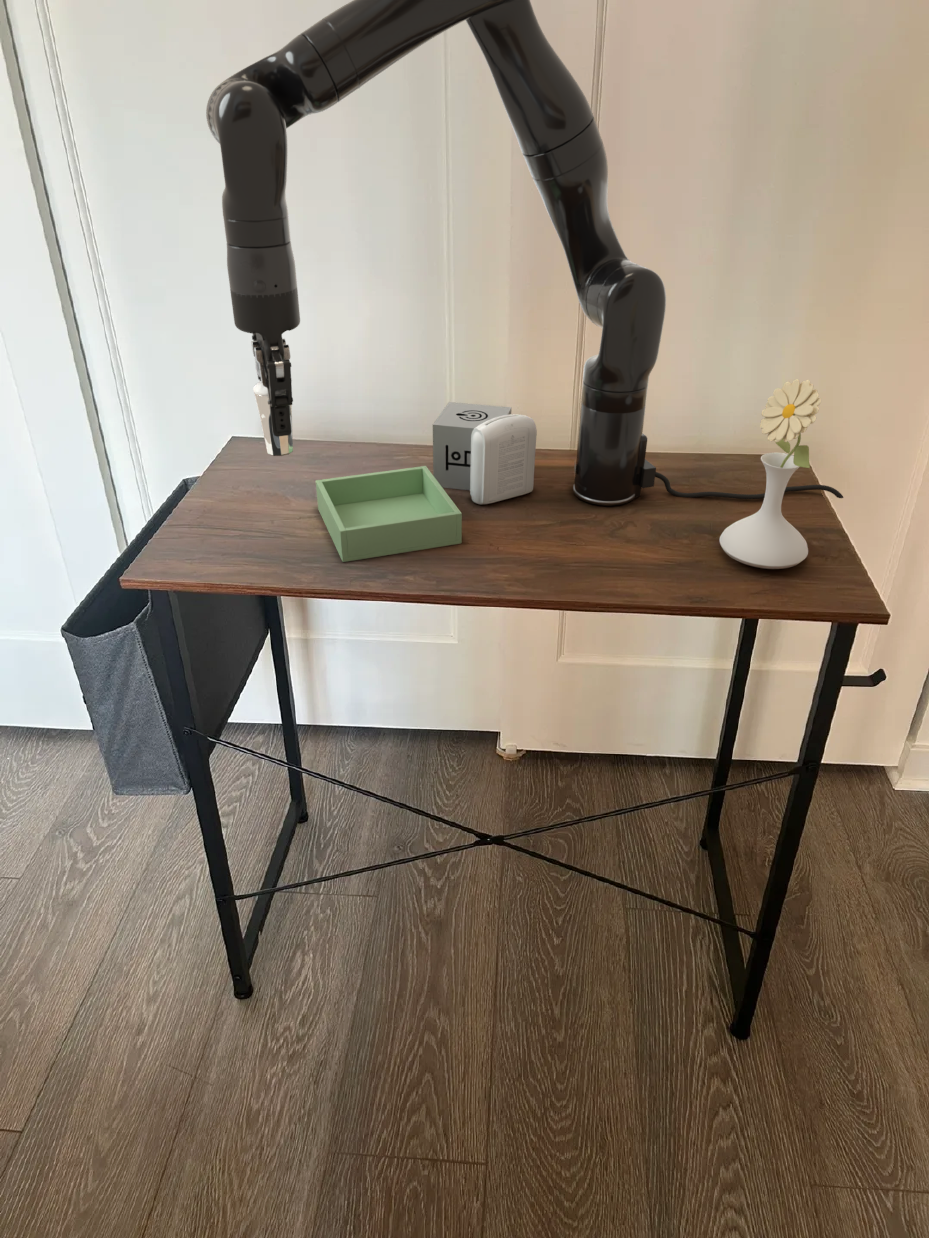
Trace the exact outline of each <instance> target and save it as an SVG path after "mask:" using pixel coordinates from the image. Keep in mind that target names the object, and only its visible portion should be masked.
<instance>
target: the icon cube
mask: <svg viewBox="0 0 929 1238" xmlns="http://www.w3.org/2000/svg"><path fill="white" fill-rule="evenodd" d="M510 414H512V406H502V405H501V406H500V405H491V404H481V403H480V404H478V403H468V402H467V403H466V402H457V401H456V402H454V401H448V402H447V403H446V405H445V407H444V408H443V409H442V410H441V412H440V414H439V415H438V416H437V418H436V419H435V420H434V422H433V423H432V475H433V476H434V477H435V479H436V480H437V481H438V483H439V484H440V485H441V486H442V488H443V489H452V490H461V491H470V470H471V469H470V468H471V435H472V431H473V430H474V428H476V427H477V426H479V425H480V424H482V423H484V422H486V421H488V420H490V419H493V418H496V417H499V416H503V415H510Z"/></svg>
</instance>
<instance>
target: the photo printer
mask: <svg viewBox="0 0 929 1238" xmlns="http://www.w3.org/2000/svg"><path fill="white" fill-rule="evenodd" d="M537 431H538V429H537V425H536V422H535V420H534V418H532V417H530V416H528V415H527V414H526V415H525V414H520V413H519V414H517V413H513V414H512V413H511V414H510V415H503V416H499V417H496V418H493V419H490V420H488V421H486V422H484V423H482V424H480V425H479V426H477V427H476V428H474V430H473V431H472V435H471V468H470V469H471V470H470V490H469V492H470V494H469V495H470V497H471V501H472V502H473V503H475V504H478V505H481V506H482V505H488V504H494V503H497V502H500V501H504V500H508V499H512V498H516V497H520V496H524V495H526V494H529V493H532V492H533V491H534V483H535V466H536V451H537V450H536V448H537V434H538V432H537Z"/></svg>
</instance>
